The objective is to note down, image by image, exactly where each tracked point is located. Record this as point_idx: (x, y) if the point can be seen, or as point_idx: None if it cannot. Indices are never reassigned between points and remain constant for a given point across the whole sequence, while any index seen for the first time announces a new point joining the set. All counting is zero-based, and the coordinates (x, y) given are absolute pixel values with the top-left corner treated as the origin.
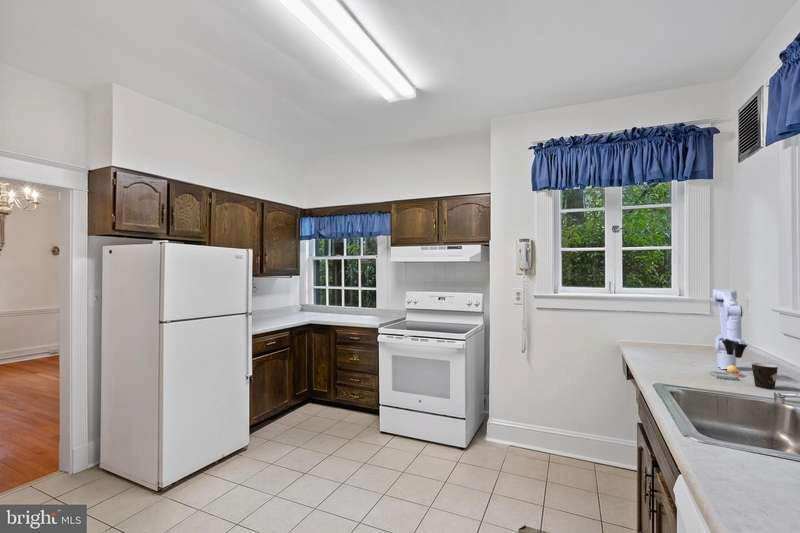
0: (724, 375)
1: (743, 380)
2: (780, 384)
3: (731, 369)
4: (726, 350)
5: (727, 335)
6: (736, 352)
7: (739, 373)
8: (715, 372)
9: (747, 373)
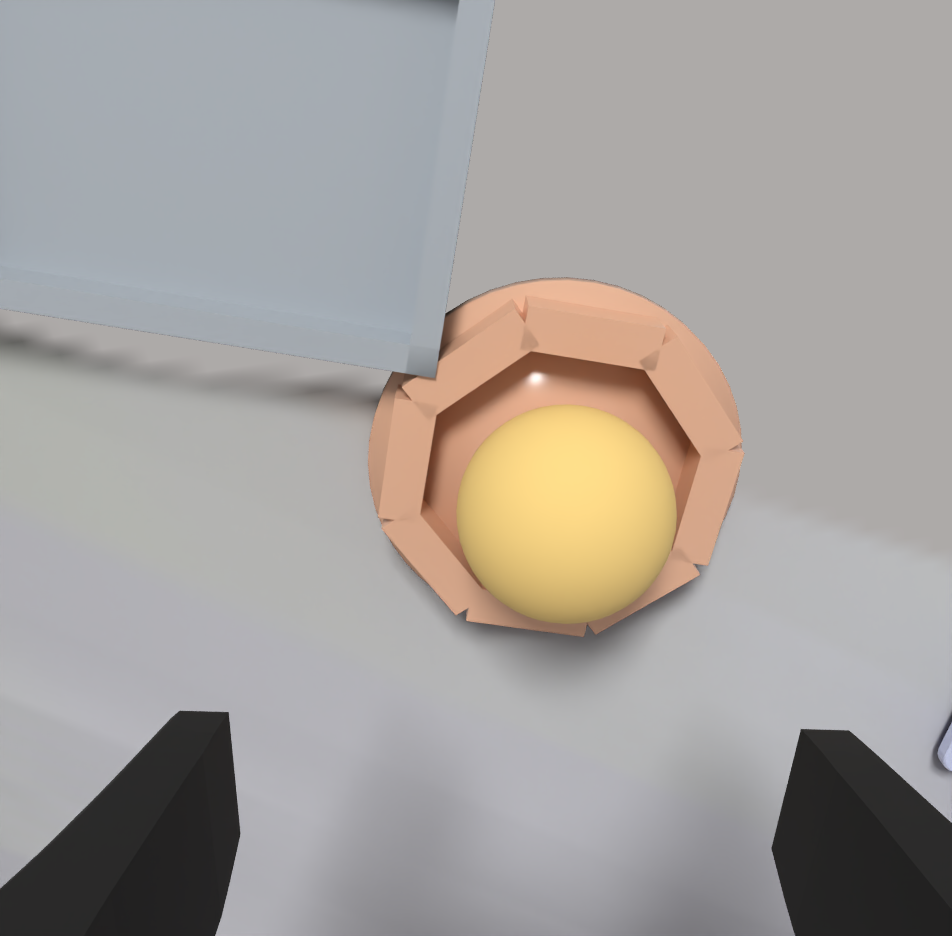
0: (275, 179)
1: (48, 408)
2: (23, 829)
3: (480, 466)
4: (924, 835)
5: None
6: (37, 883)
7: (456, 563)
8: (452, 54)
9: (772, 786)
